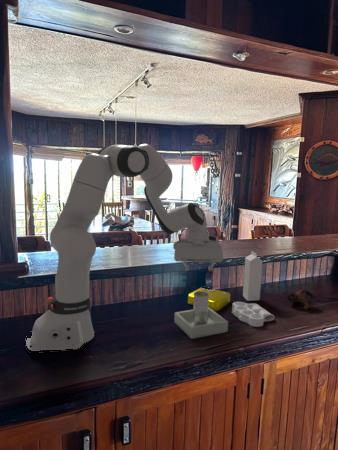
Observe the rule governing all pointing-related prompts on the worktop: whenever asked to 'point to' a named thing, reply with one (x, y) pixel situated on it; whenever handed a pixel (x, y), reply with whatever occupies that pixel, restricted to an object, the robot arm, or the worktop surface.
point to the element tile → (212, 298)
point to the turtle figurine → (301, 298)
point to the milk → (252, 277)
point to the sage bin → (213, 327)
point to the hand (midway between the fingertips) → (199, 270)
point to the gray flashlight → (200, 308)
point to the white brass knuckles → (251, 313)
